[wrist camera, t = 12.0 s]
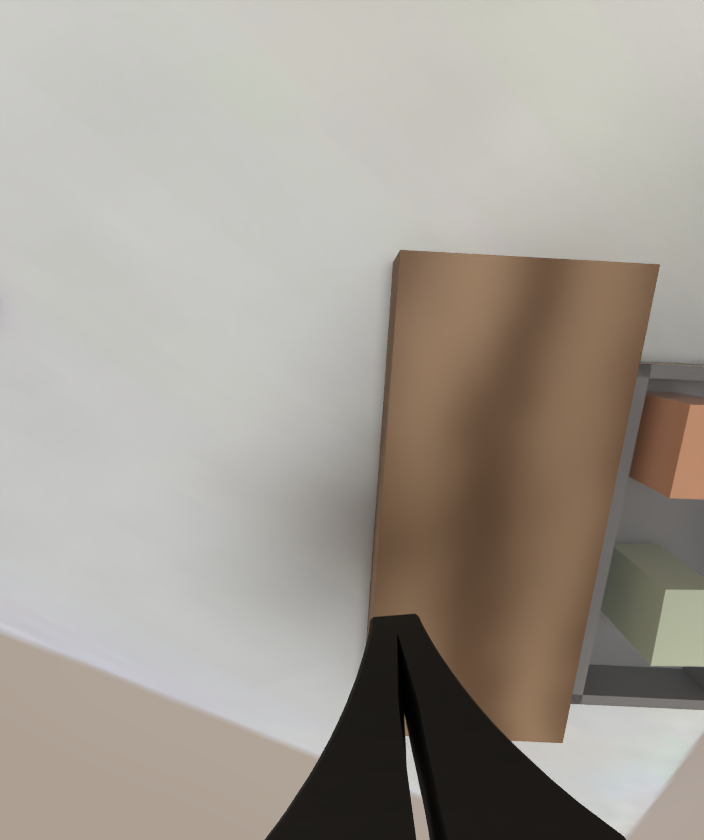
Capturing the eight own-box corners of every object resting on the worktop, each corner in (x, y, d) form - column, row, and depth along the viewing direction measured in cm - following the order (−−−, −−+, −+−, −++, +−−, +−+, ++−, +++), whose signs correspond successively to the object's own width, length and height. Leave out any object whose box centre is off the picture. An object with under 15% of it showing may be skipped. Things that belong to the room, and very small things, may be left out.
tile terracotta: (625, 390, 20) (675, 392, 20) (610, 467, 21) (659, 468, 21) (690, 404, 16) (752, 407, 16) (669, 498, 17) (728, 500, 17)
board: (613, 274, 19) (659, 264, 16) (537, 693, 25) (562, 743, 22) (393, 262, 19) (400, 250, 16) (363, 685, 24) (364, 733, 22)
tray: (767, 368, 20) (824, 373, 18) (685, 672, 24) (722, 710, 22) (604, 359, 20) (638, 363, 18) (547, 665, 24) (569, 703, 22)
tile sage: (610, 543, 22) (656, 544, 22) (599, 608, 23) (644, 608, 23) (665, 589, 18) (722, 590, 18) (650, 666, 19) (704, 666, 19)
